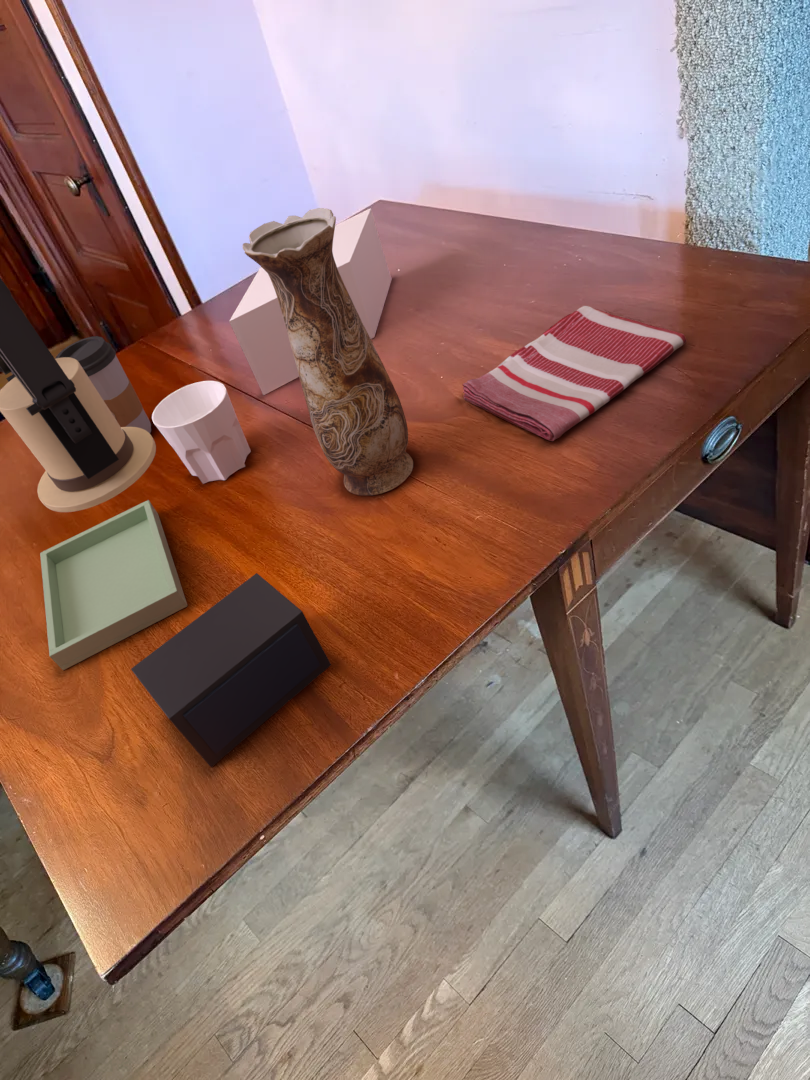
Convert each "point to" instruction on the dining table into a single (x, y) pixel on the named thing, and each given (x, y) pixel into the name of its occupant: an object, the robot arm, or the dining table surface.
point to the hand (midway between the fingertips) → (85, 451)
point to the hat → (63, 477)
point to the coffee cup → (109, 380)
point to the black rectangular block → (233, 667)
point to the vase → (334, 354)
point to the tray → (108, 584)
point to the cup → (203, 430)
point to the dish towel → (571, 370)
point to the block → (263, 317)
